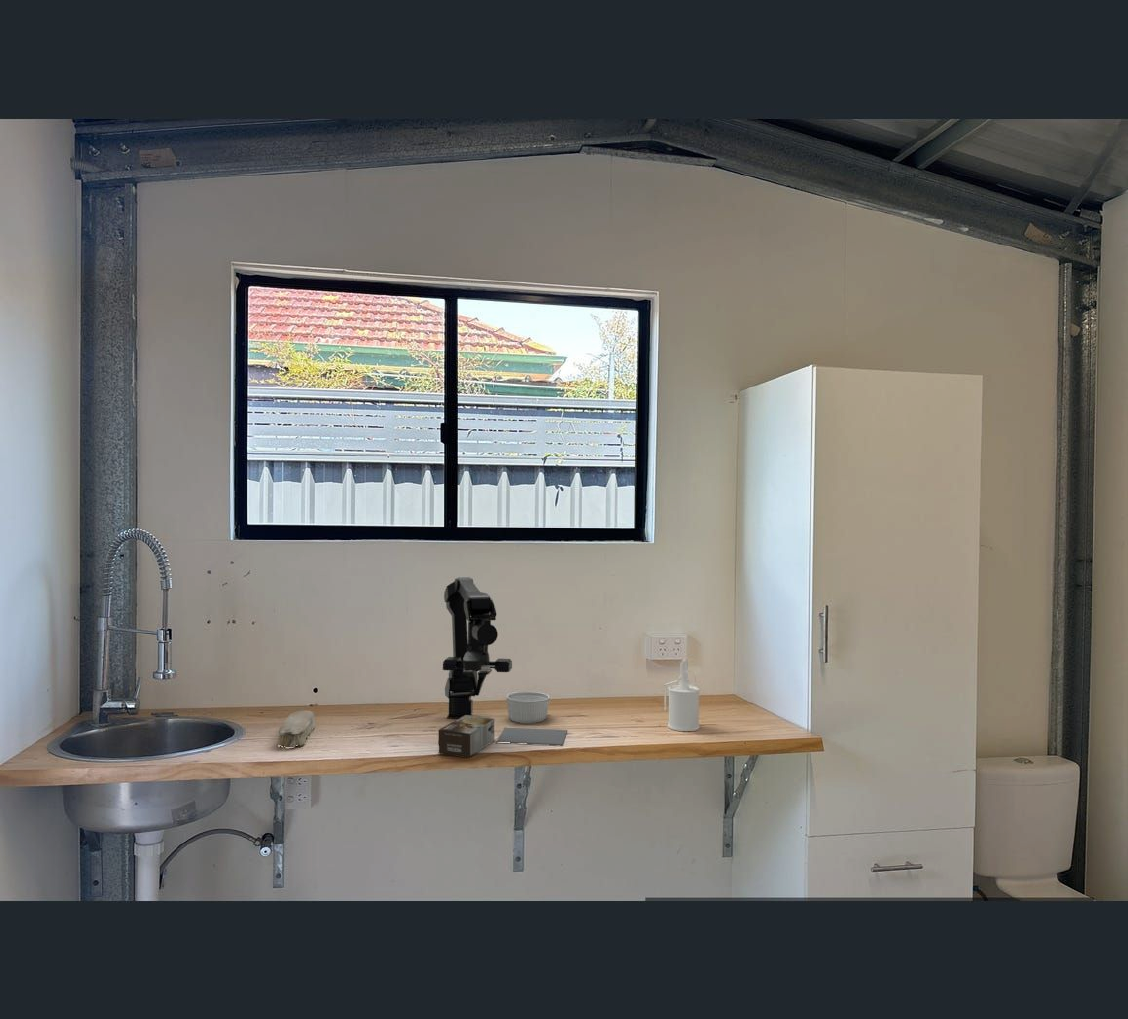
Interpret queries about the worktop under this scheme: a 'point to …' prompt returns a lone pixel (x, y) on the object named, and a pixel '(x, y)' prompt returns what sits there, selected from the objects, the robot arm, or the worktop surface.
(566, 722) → the worktop surface
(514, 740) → the mat
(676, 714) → the oil can
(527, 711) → the ramekin
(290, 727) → the shoe brush
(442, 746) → the coffee box
